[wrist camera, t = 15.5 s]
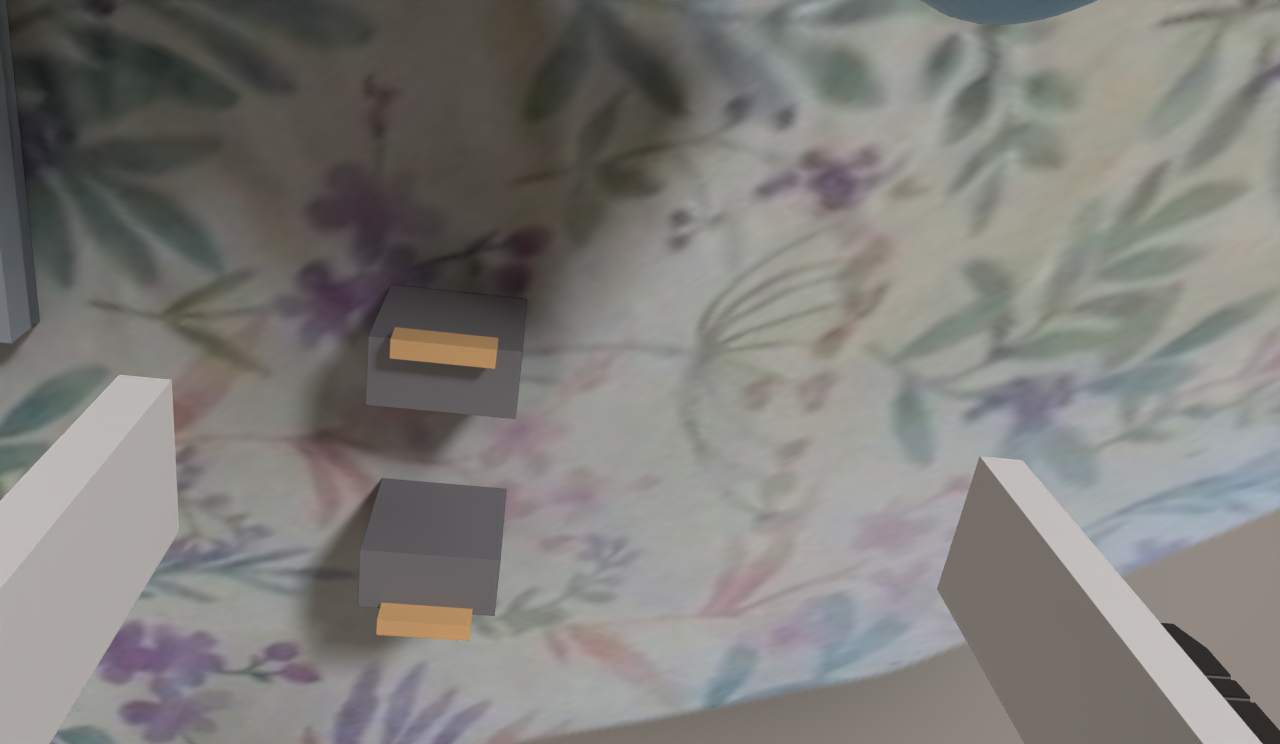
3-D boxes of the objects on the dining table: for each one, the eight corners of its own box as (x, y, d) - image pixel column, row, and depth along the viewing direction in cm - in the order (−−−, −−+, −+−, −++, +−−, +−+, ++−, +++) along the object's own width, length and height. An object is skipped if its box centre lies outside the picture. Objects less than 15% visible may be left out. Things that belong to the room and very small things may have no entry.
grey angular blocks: (391, 273, 44) (363, 336, 38) (527, 289, 45) (522, 352, 39) (379, 539, 50) (352, 633, 44) (500, 548, 51) (492, 642, 44)
